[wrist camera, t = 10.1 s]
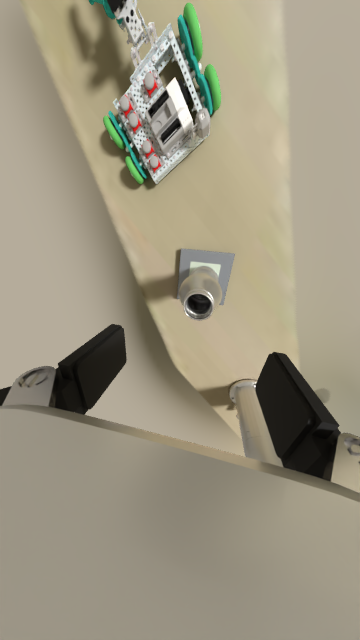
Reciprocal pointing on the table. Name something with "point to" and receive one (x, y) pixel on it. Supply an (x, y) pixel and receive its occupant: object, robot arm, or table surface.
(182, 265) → the grey flat square slab
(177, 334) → the table surface
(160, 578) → the robot arm
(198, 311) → the plastic bottle
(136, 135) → the robot kit
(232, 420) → the table surface
